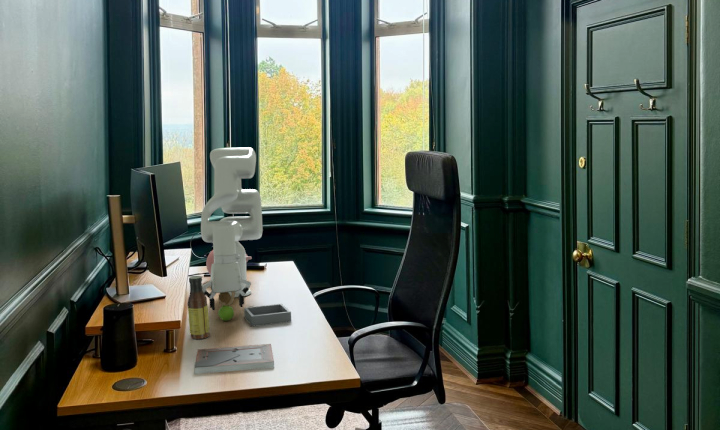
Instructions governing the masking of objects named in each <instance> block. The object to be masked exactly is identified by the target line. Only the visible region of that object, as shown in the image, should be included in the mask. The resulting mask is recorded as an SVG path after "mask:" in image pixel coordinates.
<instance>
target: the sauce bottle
mask: <svg viewBox="0 0 720 430" xmlns="http://www.w3.org/2000/svg"><path fill="white" fill-rule="evenodd" d="M188 282H189V295H188V299H187V310H188V311H187V312H188V313H187V314H188V325H189V334H190V337H191V339H195V340H203V339H206V338H208V337H210V334H211V333H210V331H211V329H210V318H209V307H208V306H209V305H208V297H207V296H206V295H205V294H204V292H203V291H202V286H203V285H202V282H203V276H201V275H194V276H192V275H191V276H189V277H188Z"/></svg>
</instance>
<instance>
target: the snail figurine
mask: <svg viewBox="0 0 720 430" xmlns="http://www.w3.org/2000/svg"><path fill="white" fill-rule="evenodd" d="M231 293H232V295H230V294H229V293H228V292H225V293H218V294H219V295H218V300H219V302H218V303H219V305H221V307H219V309H218V313H217V314H218V317H219V319H221V320H222V321H224V322H227V321H230V320H232V319H233V318H234V315H235V311H234V308H233V307H232V306H231V305H232V304H233V303H234V300H235V298H236V297H235V291H234V292H231Z"/></svg>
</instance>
